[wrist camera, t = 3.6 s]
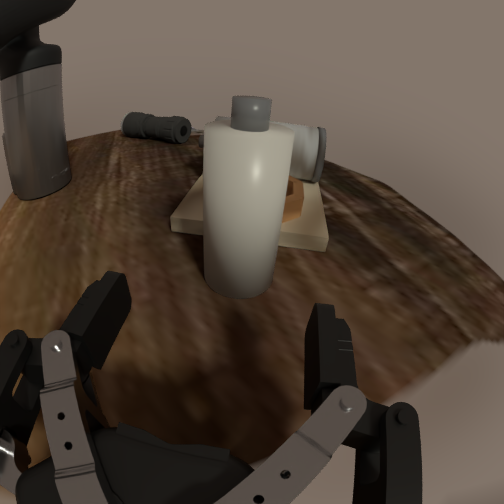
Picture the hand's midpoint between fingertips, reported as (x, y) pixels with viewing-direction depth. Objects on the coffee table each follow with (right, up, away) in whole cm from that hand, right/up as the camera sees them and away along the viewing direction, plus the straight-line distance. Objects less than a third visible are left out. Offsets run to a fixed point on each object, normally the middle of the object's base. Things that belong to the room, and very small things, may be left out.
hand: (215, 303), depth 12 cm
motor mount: (+2, +8, +21) cm, 22 cm away
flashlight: (-18, +24, +41) cm, 51 cm away
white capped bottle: (0, 0, +10) cm, 10 cm away
